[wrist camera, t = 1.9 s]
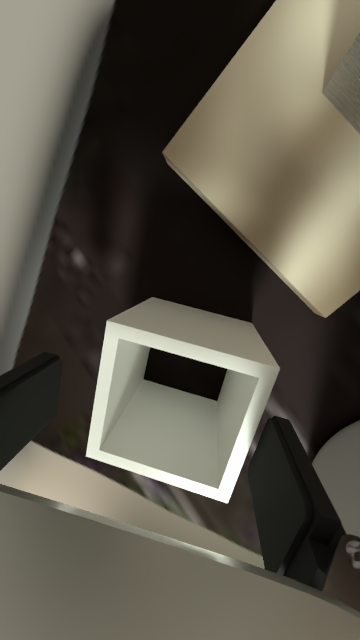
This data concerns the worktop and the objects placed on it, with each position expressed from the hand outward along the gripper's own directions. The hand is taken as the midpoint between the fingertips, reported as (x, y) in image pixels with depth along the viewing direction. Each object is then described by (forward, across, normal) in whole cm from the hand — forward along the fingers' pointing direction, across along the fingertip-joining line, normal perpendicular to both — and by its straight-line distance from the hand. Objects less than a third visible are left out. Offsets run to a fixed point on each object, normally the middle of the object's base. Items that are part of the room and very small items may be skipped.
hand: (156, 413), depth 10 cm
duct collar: (+7, -1, +1) cm, 7 cm away
